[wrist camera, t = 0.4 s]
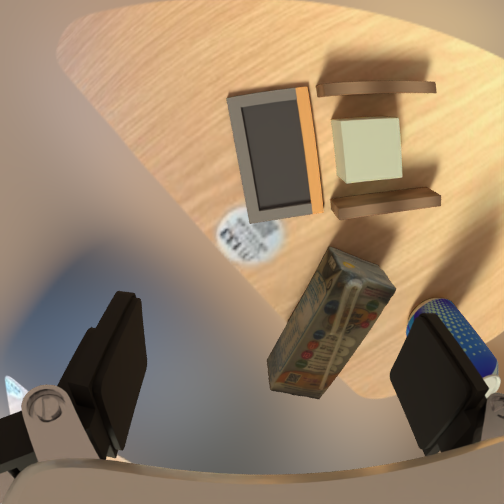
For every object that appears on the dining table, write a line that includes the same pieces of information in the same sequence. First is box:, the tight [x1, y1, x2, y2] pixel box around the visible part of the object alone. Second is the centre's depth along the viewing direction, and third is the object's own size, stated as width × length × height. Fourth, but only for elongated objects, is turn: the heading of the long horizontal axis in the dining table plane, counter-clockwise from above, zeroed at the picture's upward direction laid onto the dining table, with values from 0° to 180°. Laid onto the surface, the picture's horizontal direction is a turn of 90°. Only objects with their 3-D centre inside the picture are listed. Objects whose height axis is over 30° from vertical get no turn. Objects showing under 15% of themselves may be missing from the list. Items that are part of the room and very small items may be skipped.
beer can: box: [406, 298, 501, 398], centre depth 34 cm, size 8×8×16 cm
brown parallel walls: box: [316, 81, 441, 220], centre depth 30 cm, size 12×13×4 cm
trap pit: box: [226, 87, 323, 224], centre depth 32 cm, size 8×13×1 cm, turn 10°
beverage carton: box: [267, 247, 396, 399], centre depth 38 cm, size 8×19×7 cm, turn 159°
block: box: [331, 116, 402, 183], centre depth 30 cm, size 6×6×4 cm
